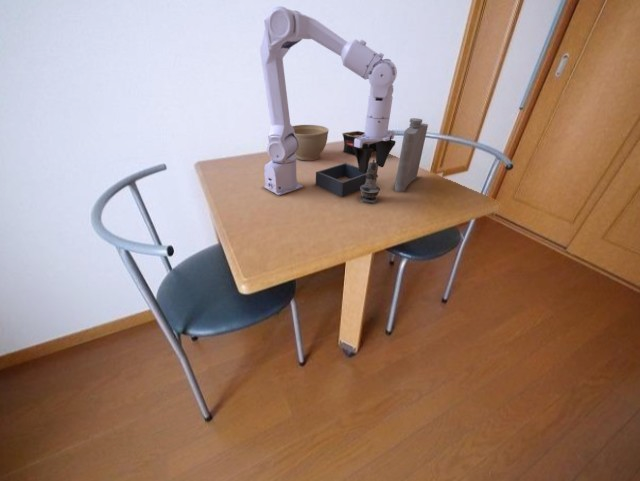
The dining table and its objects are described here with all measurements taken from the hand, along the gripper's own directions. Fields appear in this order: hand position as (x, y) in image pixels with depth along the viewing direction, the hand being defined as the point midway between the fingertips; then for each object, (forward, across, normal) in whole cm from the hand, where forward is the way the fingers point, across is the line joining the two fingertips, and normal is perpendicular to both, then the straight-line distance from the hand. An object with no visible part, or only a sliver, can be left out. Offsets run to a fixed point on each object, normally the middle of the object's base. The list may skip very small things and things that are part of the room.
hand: (371, 169), depth 79 cm
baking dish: (+9, +34, +30) cm, 47 cm away
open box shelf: (+9, +2, +12) cm, 15 cm away
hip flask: (+9, +19, 0) cm, 21 cm away
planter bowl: (+9, +12, +41) cm, 43 cm away
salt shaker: (+9, 0, 0) cm, 9 cm away
